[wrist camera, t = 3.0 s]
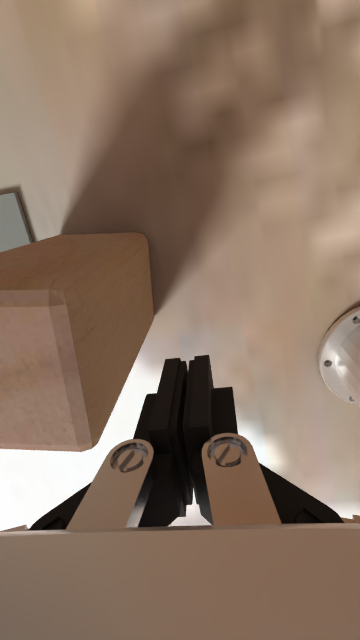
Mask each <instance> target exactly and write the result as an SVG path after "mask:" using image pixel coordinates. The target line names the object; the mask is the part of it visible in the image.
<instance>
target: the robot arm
mask: <svg viewBox="0 0 360 640" xmlns="http://www.w3.org/2000/svg"><path fill="white" fill-rule="evenodd" d="M355 316H356V317H355ZM354 317H355V318H354ZM353 318H354V319H353ZM318 366H319V371H320V374H321V376H322V378H323V380H324V382H325V383H326V385H327V387H328V388H329V389H330V390H331V391H332V392H333V393H334V394H335V395H336V396H337V397H339V398H340V399H342V400H344V401H346V402H348V403H350V404H354V405H358V407H359V408H360V306H359V307H356V308H354V309H352V310H351V311H349V312H348V313H346V314H345V315H343V316H342V317H340V318H339V319H338V320H337V321H336V322H335V323H334V324H333V325H332V326H331V328H330V329H329V330H328V332H327V333H326V334H325V336H324V338H323V340H322V342H321V345H320V349H319V352H318ZM193 488H194V493H195V498H196V503H197V504H199V507H200V512H201V515H202V516H203V517H204V518H205V519H206V520H207V521H208V522H209V523H211V524H212V525H205V526H171V523H172V522H173V521H174V520H175V519H176V518H177V517H186V505H192V500H193ZM0 640H360V516H358V515H353V519H347V518H341V517H340V516H339V515H338V514H337V513H336V512H335V511H333V510H332V509H331V508H330V507H328V506H327V505H325V504H324V503H322V502H320V501H319V500H317V499H316V498H314V497H313V496H311V495H309V494H308V493H306V492H305V491H303V490H301V489H300V488H298V487H297V486H295V485H294V484H292V483H290V482H289V481H287V480H286V479H284V478H282V477H281V476H279V475H278V474H276V473H275V472H273V471H271V470H270V469H268V468H267V467H265V466H263V465H262V464H260V463H259V462H258V460H257V457H256V455H255V452H254V450H253V447H252V445H251V444H250V442H249V441H248V440H247V439H246V438H244V437H243V436H240V435H238V430H237V422H236V414H235V405H234V397H233V389H232V387H225V388H214V387H213V379H212V372H211V365H210V358H209V355H203V356H195V358H194V360H190V361H189V370H187V364H186V361H181V359H180V358H173V359H166V360H165V363H164V367H163V371H162V375H161V379H160V383H159V387H158V391H157V393H155V394H147V395H146V398H145V401H144V404H143V408H142V411H141V414H140V418H139V421H138V424H137V428H136V431H135V434H134V438H133V439H131V440H127V441H124V442H122V443H120V444H118V445H117V446H115V447H114V448H113V449H112V450H111V451H110V452H109V454H108V455H107V456H106V458H105V460H104V462H103V464H102V465H101V467H100V469H99V471H98V473H97V474H96V476H95V478H94V480H93V482H91V483H90V484H88V485H87V486H85V487H84V488H83V489H81V490H80V491H78V492H77V493H75V494H74V495H73V496H71V497H70V498H68V499H67V500H65V501H64V502H62V503H61V504H60V505H58V506H57V507H55V508H54V509H52V510H51V511H49V512H48V513H47V514H45V515H44V516H42V517H41V518H40V519H39V520H37V521H36V522H35V523H34V524H33V525H32V526H31V528H30V529H28V527H27V525H23V526H19V527H15V528H11V529H7V530H4V531H0Z"/></svg>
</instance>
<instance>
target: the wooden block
mask: <svg viewBox="0 0 360 640" xmlns="http://www.w3.org/2000/svg"><path fill="white" fill-rule="evenodd" d="M153 319H154V310H153V297H152V284H151V271H150V258H149V245H148V241H147V239H146V237H145V235H143V234H141V233H138V232H131V233H100V234H70V235H57V236H54V237H51V238H47V239H44V240H40V241H37V242H34V243H30V244H27V245H24V246H20V247H17V248H13V249H10V250H7V251H3V252H0V449H22V450H48V451H74V452H82V451H86V450H89V449H92V448H93V447H94V446H95V445H96V444H97V443H98V442H99V439H100V437H101V435H102V433H103V431H104V428H105V426H106V424H107V422H108V419H109V417H110V415H111V413H112V411H113V408H114V406H115V404H116V402H117V400H118V397H119V395H120V393H121V391H122V388H123V386H124V384H125V382H126V380H127V377H128V375H129V373H130V371H131V369H132V366H133V364H134V362H135V360H136V357H137V355H138V353H139V351H140V349H141V346H142V344H143V342H144V340H145V338H146V335H147V333H148V331H149V329H150V326H151V324H152V322H153Z"/></svg>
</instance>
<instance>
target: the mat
mask: <svg viewBox="0 0 360 640" xmlns="http://www.w3.org/2000/svg"><path fill="white" fill-rule="evenodd" d="M30 243H33V240H32V237H31V234H30V231H29V228H28V224H27V221H26V218H25V215H24V212H23V209H22V205H21V202H20V199H19V196H18V193H9V194H3V195H0V252H3V251H7V250H10V249H13V248H17V247H20V246H24V245H27V244H30Z"/></svg>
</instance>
